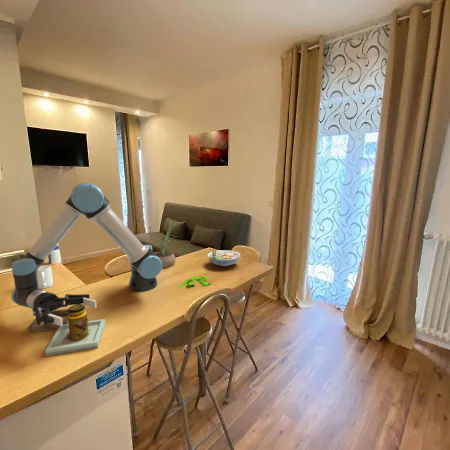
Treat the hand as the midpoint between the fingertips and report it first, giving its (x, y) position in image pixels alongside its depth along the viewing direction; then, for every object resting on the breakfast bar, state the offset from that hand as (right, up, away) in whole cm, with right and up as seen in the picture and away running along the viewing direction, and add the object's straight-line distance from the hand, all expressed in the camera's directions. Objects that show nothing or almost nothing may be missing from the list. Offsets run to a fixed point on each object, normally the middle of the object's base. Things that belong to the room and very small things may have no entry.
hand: (79, 312), depth 94 cm
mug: (-47, -3, +49) cm, 68 cm away
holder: (-19, -9, +14) cm, 25 cm away
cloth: (+36, -2, +54) cm, 65 cm away
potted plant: (+12, +4, +88) cm, 89 cm away
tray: (-2, -11, +3) cm, 11 cm away
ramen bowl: (+52, +4, +85) cm, 100 cm away
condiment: (-2, -10, +2) cm, 11 cm away
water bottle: (-68, +5, +89) cm, 112 cm away
